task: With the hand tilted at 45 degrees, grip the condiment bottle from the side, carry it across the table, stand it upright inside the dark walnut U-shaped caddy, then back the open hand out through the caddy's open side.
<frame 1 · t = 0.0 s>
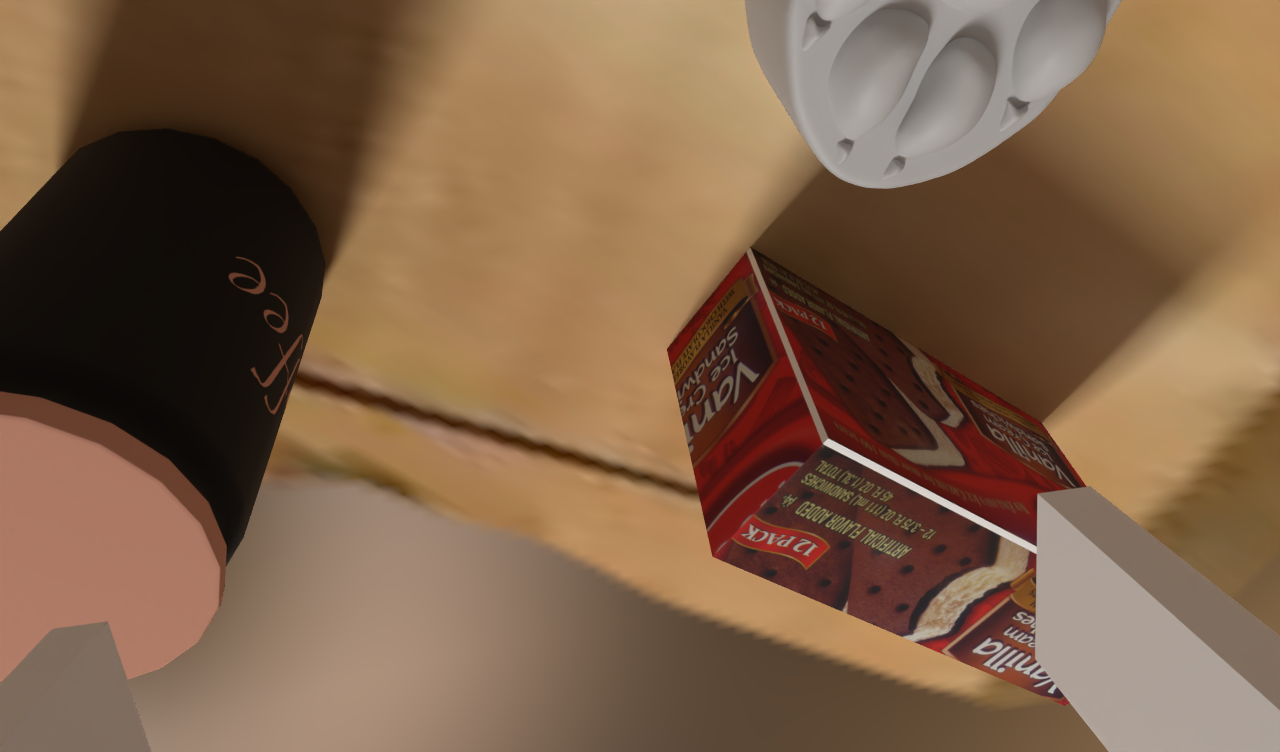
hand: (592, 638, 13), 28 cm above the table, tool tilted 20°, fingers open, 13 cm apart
ice cream box: (863, 384, 48), on the table
coffee jar: (197, 238, 39), on the table
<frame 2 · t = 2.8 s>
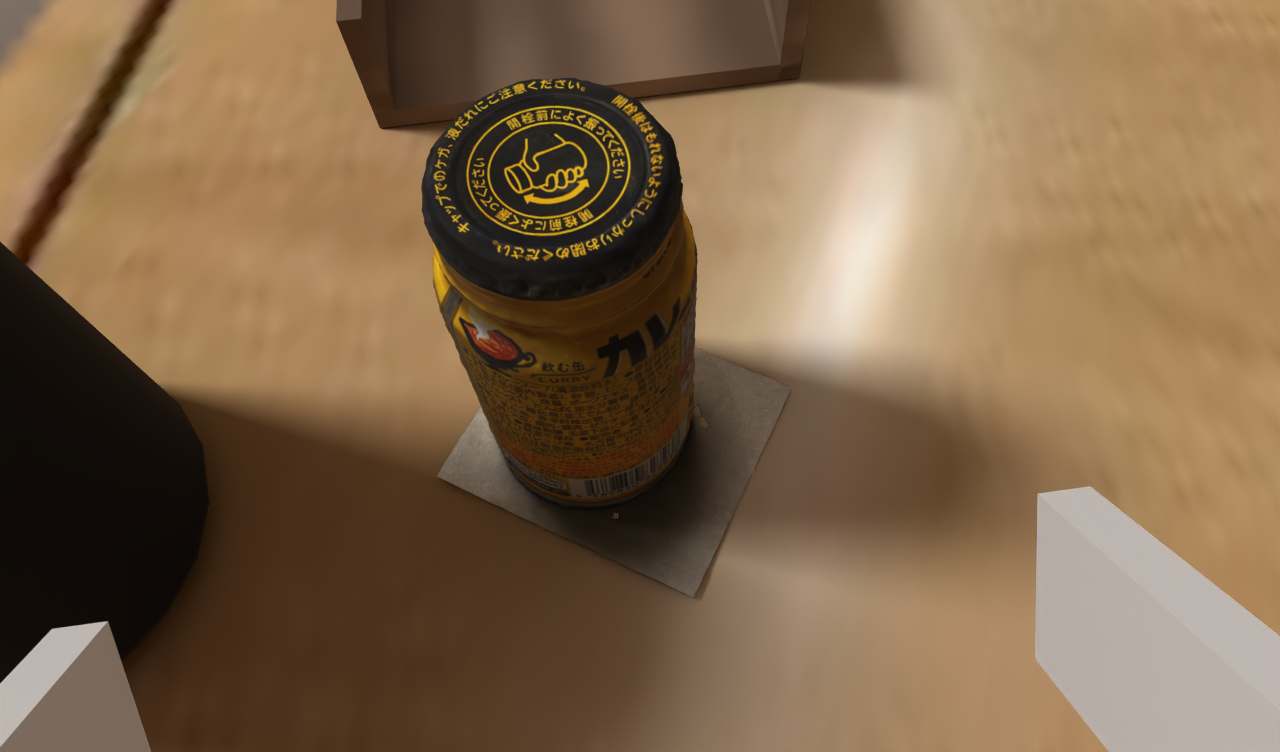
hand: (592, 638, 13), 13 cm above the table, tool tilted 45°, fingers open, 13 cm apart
condiment: (617, 436, 29), on the table
coffee jar: (50, 541, 28), on the table
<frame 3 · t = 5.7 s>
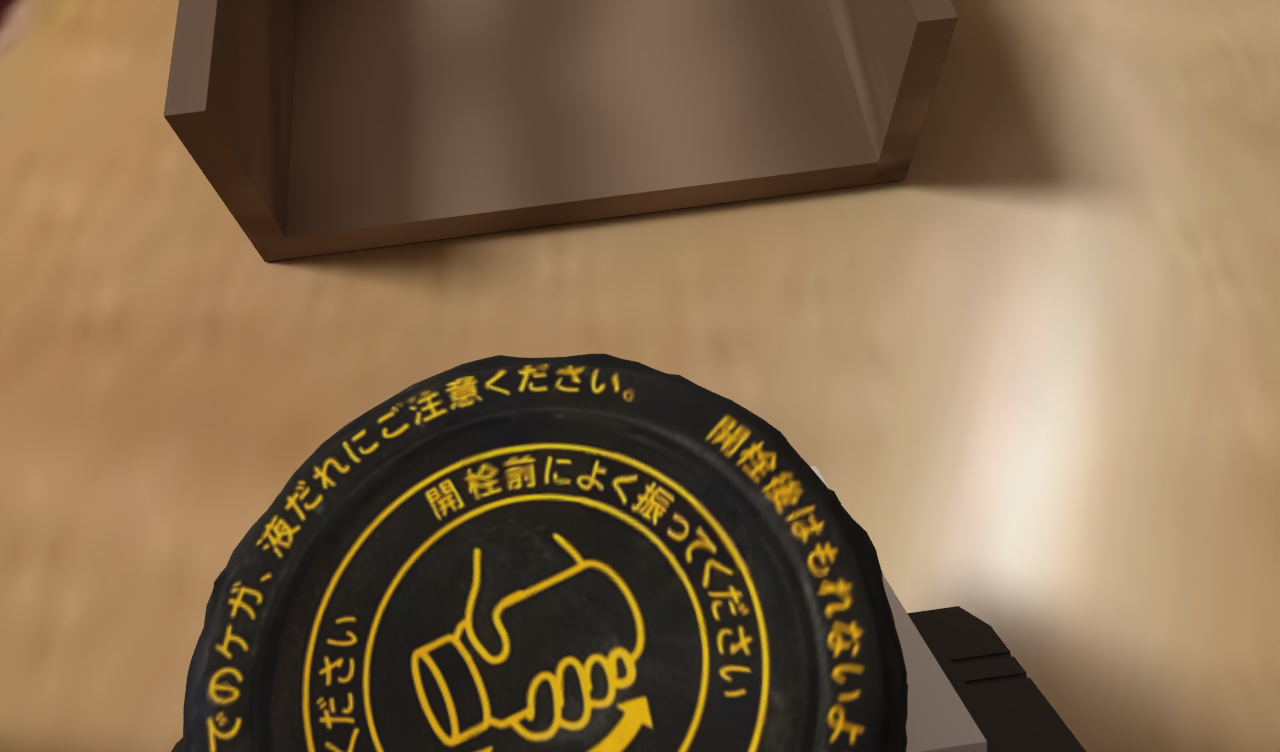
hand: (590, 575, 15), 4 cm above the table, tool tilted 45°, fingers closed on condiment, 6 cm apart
caddy: (563, 31, 26), on the table
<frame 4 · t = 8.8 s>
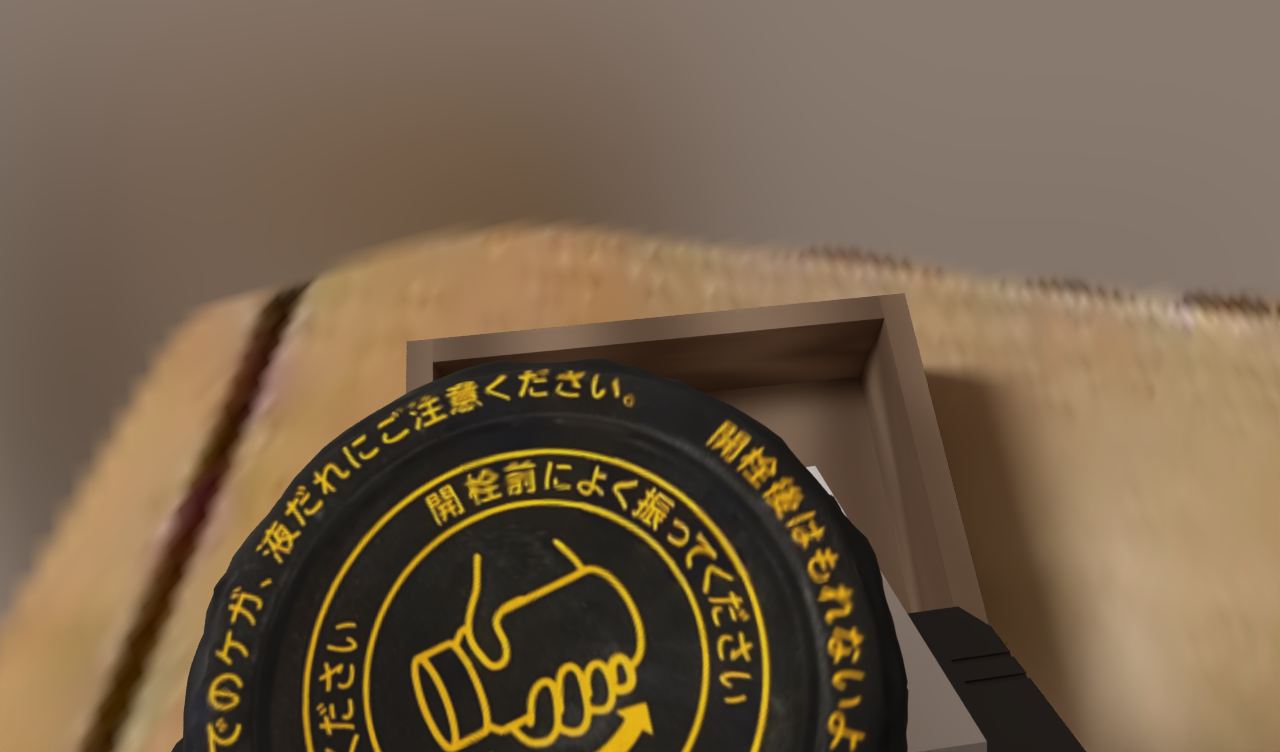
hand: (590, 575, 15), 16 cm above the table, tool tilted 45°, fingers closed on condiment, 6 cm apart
caddy: (678, 559, 31), on the table
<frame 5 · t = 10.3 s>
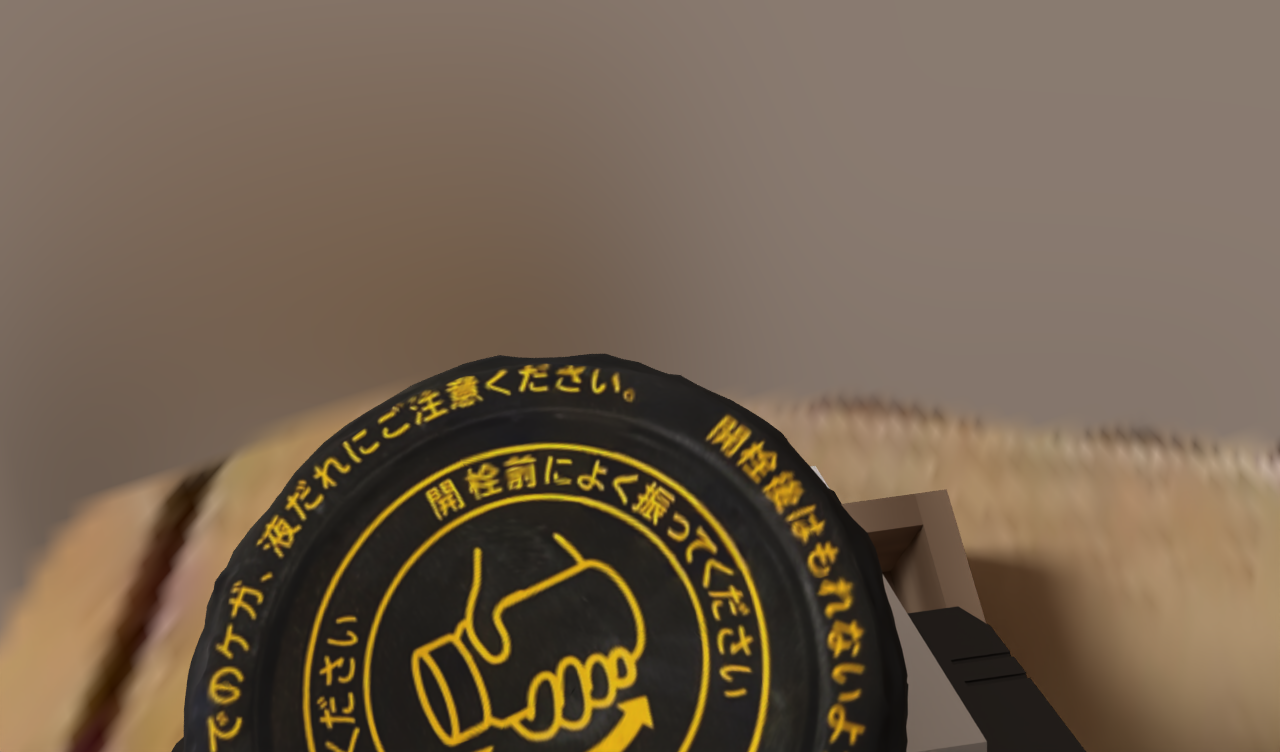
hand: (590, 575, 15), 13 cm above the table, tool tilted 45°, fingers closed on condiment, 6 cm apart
when the fingers open (6 cm above the table, at t = 11.7 s): condiment drops 1 cm, resting on caddy.
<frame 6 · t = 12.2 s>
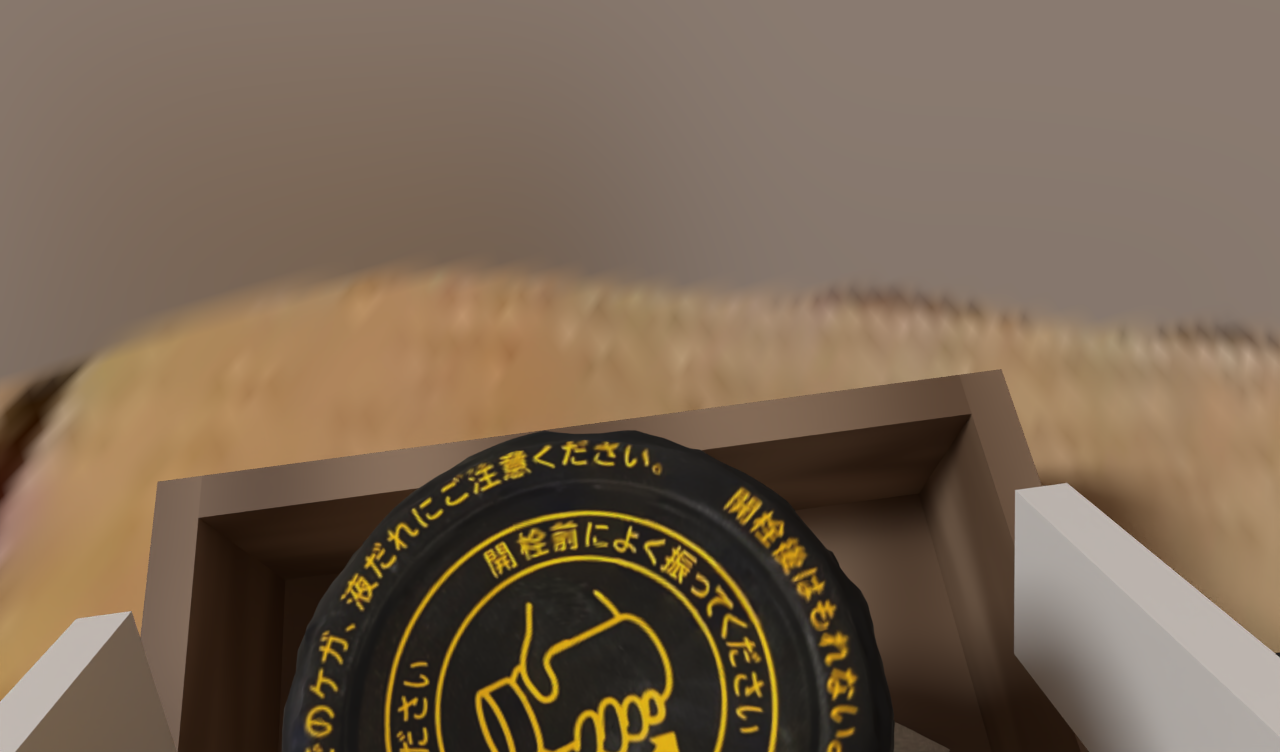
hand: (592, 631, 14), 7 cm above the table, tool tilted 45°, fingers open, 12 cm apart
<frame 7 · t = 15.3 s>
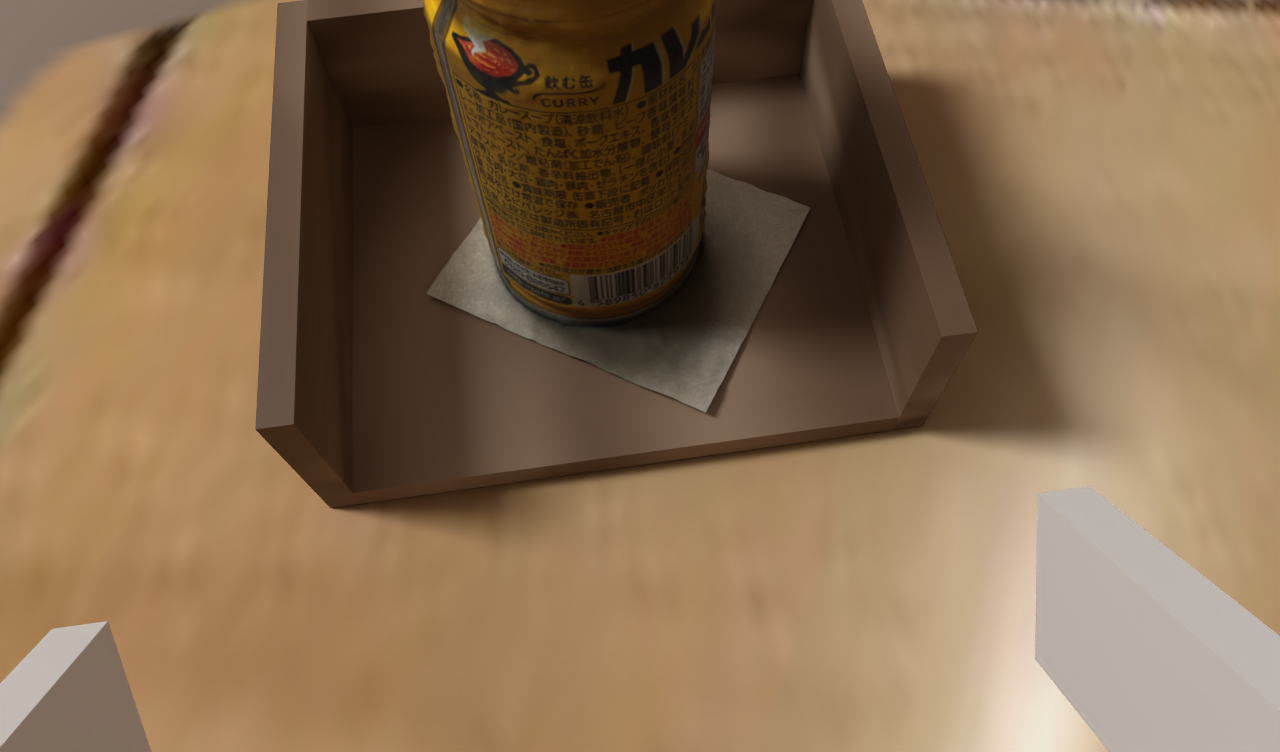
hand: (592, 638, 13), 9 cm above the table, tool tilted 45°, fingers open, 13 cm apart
caddy: (601, 263, 28), on the table
condiment: (622, 257, 27), point 1 cm above the table, touching caddy
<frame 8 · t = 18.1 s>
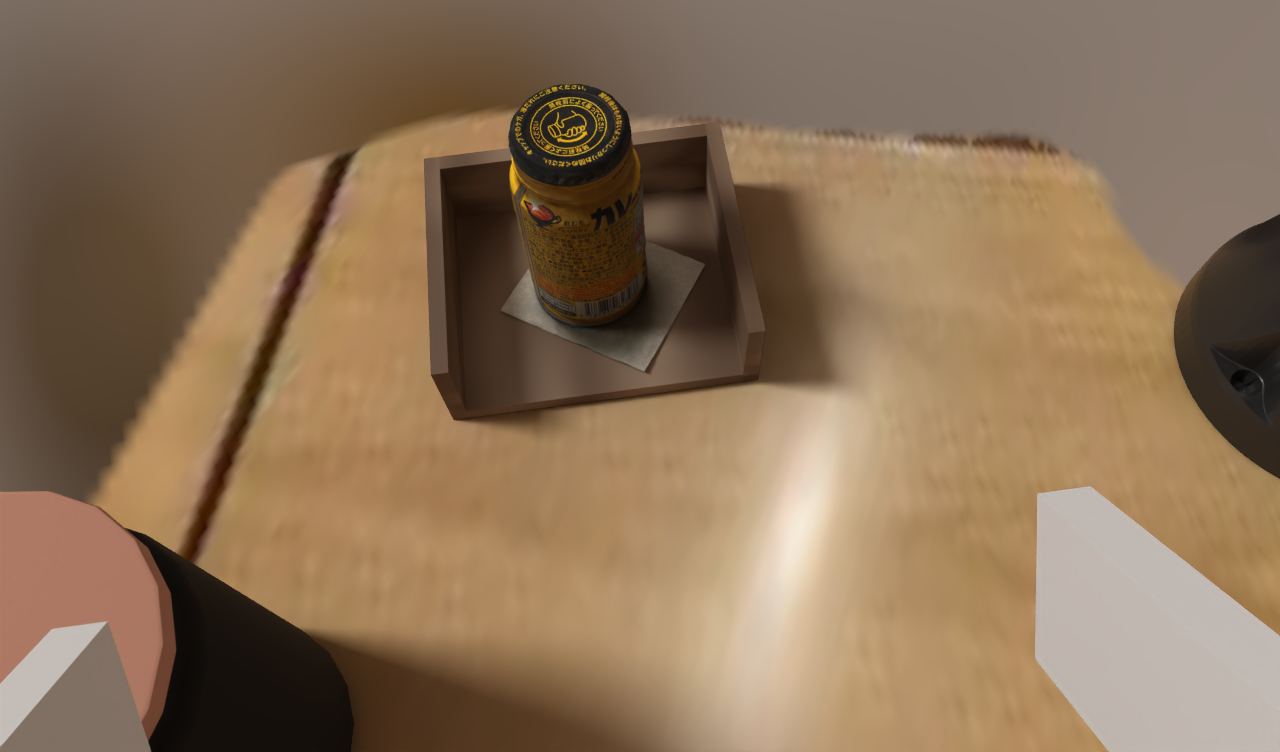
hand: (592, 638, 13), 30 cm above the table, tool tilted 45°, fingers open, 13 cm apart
caddy: (592, 293, 51), on the table
condiment: (604, 291, 50), point 1 cm above the table, touching caddy
coffee jar: (241, 748, 41), on the table
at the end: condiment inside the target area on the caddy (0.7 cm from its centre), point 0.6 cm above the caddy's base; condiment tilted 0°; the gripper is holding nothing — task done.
